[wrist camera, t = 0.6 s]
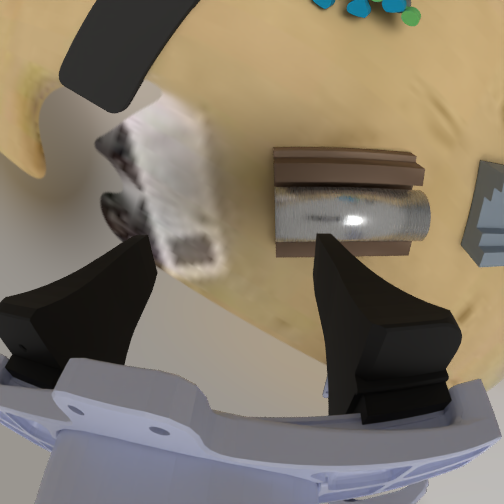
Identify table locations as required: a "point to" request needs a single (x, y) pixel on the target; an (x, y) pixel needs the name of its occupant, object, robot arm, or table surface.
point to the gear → (398, 3)
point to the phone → (119, 48)
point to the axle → (351, 214)
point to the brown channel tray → (345, 185)
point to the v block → (486, 217)
